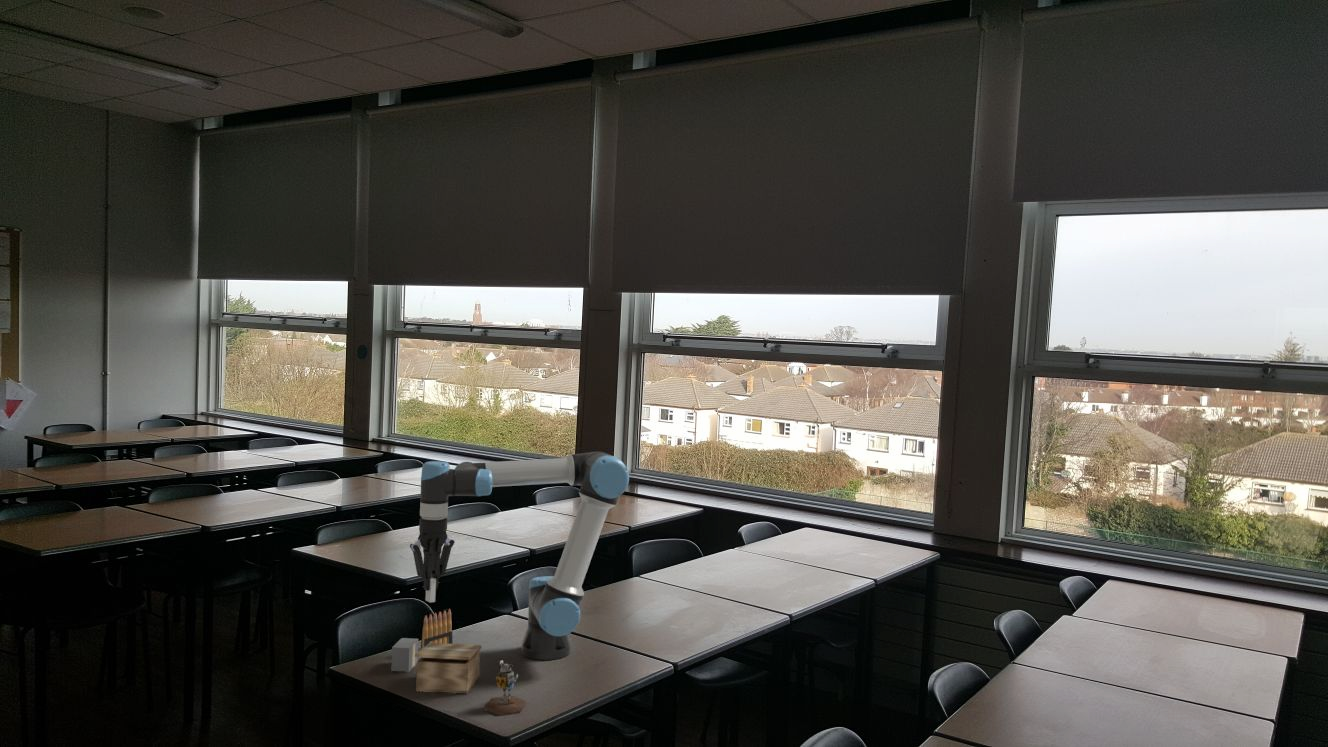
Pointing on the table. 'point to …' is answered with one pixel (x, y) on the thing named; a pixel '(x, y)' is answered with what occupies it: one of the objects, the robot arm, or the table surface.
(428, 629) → the ammunition clip
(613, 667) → the table surface
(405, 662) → the grey taped box
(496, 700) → the robot figurine
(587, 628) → the table surface
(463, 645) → the lid
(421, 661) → the crate
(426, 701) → the table surface
